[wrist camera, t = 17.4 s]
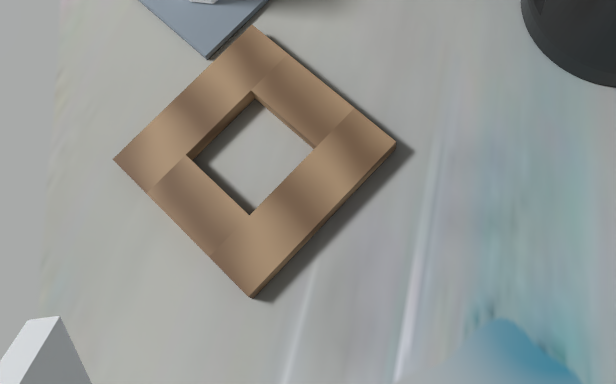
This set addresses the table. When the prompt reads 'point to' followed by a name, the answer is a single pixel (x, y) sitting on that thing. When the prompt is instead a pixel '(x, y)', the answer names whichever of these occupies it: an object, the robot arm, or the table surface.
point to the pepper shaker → (204, 1)
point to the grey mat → (204, 20)
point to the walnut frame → (290, 193)
